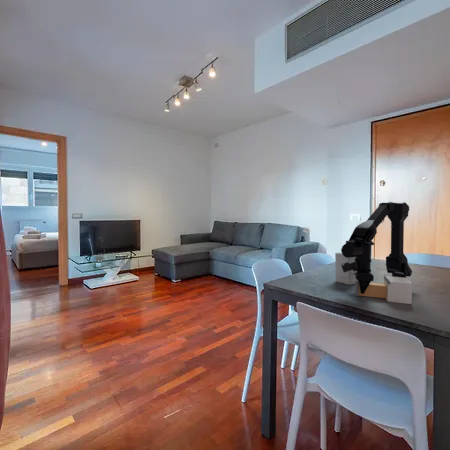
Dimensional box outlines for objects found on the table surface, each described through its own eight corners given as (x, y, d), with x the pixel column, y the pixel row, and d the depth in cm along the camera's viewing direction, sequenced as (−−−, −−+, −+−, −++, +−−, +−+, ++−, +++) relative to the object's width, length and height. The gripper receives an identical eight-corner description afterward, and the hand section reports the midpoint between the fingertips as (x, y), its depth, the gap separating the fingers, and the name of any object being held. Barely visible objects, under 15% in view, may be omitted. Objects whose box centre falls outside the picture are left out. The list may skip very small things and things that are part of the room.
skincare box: (356, 284, 132) (357, 253, 132) (347, 285, 130) (348, 254, 129) (342, 279, 140) (343, 251, 139) (334, 281, 137) (335, 252, 137)
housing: (383, 294, 117) (384, 275, 116) (405, 296, 114) (405, 277, 113) (387, 301, 107) (388, 281, 107) (411, 304, 104) (412, 283, 104)
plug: (354, 292, 118) (355, 280, 118) (397, 297, 112) (398, 284, 112) (355, 295, 114) (355, 282, 114) (400, 300, 108) (400, 287, 108)
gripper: (341, 251, 126) (340, 284, 127) (343, 258, 109) (341, 296, 110) (368, 253, 122) (367, 287, 123) (374, 260, 104) (372, 299, 105)
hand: (361, 292), depth 115 cm, fingers closed on plug, 4 cm apart
